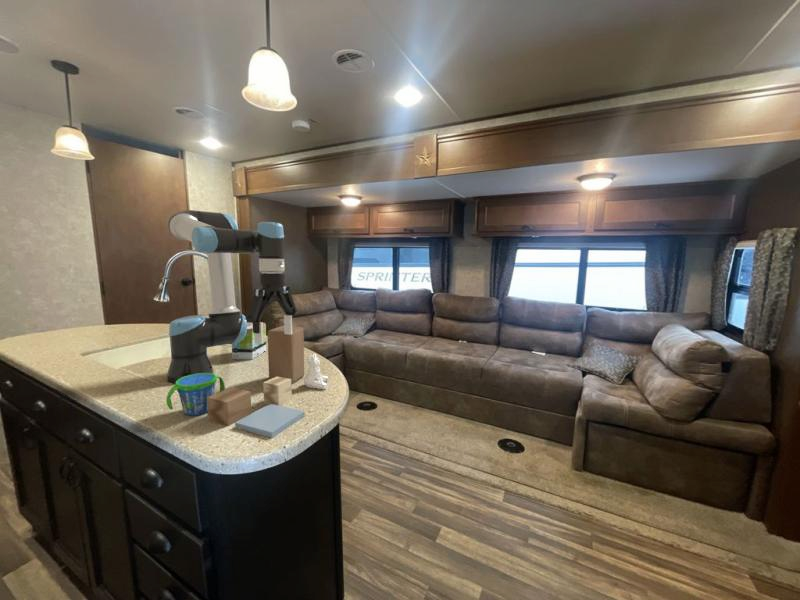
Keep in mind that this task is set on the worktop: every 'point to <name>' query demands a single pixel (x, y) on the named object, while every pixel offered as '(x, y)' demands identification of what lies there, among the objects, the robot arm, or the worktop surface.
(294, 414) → the plate
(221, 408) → the walnut brick
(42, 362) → the worktop surface
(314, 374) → the sitting furry creature
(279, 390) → the oak brick
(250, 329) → the tea box
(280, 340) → the block
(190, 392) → the snack cup
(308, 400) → the worktop surface
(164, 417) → the worktop surface
